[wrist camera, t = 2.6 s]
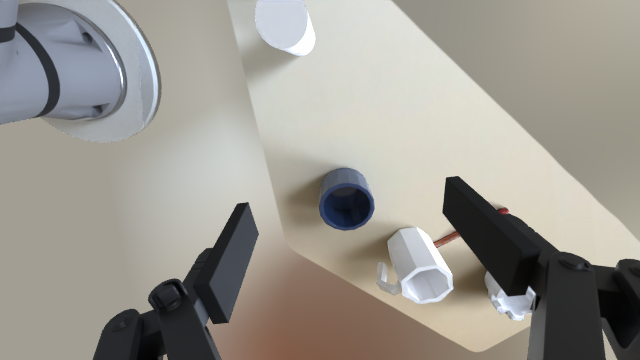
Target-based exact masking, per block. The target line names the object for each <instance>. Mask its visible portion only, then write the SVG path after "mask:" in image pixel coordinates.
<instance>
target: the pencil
mask: <svg viewBox="0 0 640 360" xmlns="http://www.w3.org/2000/svg"><path fill="white" fill-rule="evenodd" d="M499 212H500V213H501V214H506V213H508V212H509V210H508V209H507V208H503V209H501V210H499ZM458 237H460V235H459V233H458V232H455V233H453V234H451V235H449V236H447V237H445V238H443V239H441V240H439V241H437V242H435V243H433V244H434V246H435V247H436V248H438V247H440V246H442V245H444V244H446V243H448V242H450V241H452V240H454V239H456V238H458Z"/></svg>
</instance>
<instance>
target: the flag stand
mask: <svg viewBox="0 0 640 360" xmlns="http://www.w3.org/2000/svg"><path fill="white" fill-rule="evenodd" d="M484 281H485V285H486V287H487V288H488V289H489V290H488V296H489V299H490V301H491V302H492V304H493V305H494V307H495V308H496V309H497V311H498V312H499V313H500V314H503V313H506V314H507V315H508V316H509V318H510V319H513V320H523V319H524V316H523V314H529V313H532V310H529V309H530V307H531V304H532V302H533V299H534V296H535V294H536V293H535V292H534V291H533V290H532V288H531V287H530V286H529V287H528V289H527V292H526V295H521V296H511V297H508V296H507V295H506V294H505V292H504V291H503V290H502V289H501V287H500V286H499V285H498V283H497V282H496V281H495V280H494V278H493V277H492V276H491V274H490V273H489V272H488V271H487V272H486V275H485V279H484Z"/></svg>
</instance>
